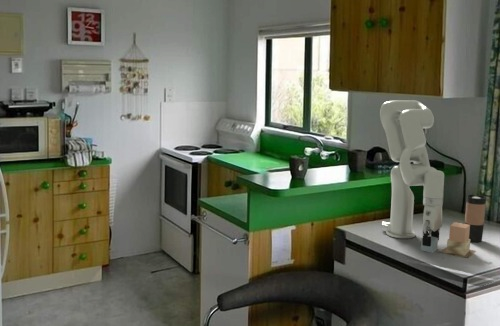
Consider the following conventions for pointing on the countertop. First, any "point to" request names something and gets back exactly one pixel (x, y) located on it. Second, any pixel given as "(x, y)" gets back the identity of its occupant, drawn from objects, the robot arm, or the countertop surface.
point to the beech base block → (458, 247)
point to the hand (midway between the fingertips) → (430, 242)
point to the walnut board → (457, 254)
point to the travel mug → (475, 217)
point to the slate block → (433, 245)
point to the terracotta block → (459, 232)
